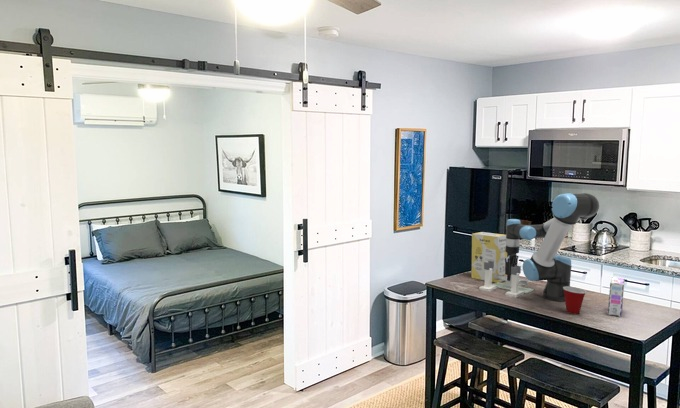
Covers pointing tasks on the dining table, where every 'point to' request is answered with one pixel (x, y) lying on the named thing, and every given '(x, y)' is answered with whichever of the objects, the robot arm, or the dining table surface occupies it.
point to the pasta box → (488, 254)
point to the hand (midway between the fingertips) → (510, 285)
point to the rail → (504, 278)
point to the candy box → (616, 296)
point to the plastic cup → (573, 299)
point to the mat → (504, 286)
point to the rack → (490, 287)
